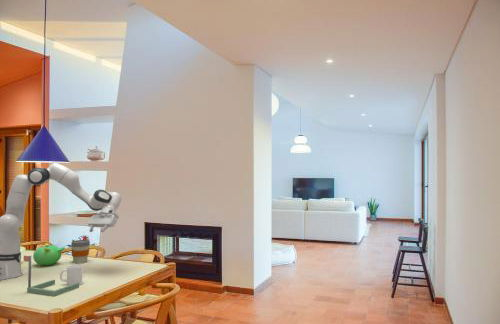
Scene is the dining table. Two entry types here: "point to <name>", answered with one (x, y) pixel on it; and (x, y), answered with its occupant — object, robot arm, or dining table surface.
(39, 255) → the green teapot
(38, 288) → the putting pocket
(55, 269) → the dining table surface
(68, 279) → the cup
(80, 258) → the reusable coffee cup
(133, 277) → the dining table surface
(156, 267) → the dining table surface
